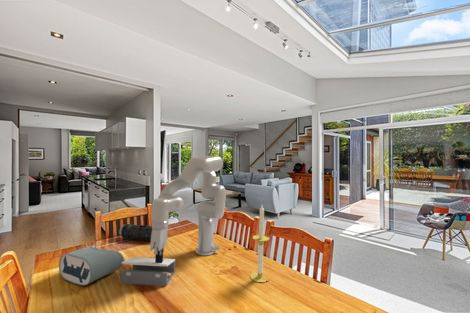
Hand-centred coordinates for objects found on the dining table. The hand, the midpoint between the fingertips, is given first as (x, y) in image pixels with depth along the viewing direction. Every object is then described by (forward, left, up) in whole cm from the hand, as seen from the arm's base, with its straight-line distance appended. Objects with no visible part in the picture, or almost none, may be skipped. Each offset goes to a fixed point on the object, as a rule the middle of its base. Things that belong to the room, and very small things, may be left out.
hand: (159, 262), depth 109 cm
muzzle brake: (+32, -47, -10) cm, 58 cm away
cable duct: (+6, -2, -9) cm, 11 cm away
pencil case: (+35, -2, -10) cm, 36 cm away
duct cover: (+6, -3, -2) cm, 7 cm away
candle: (-49, -8, -10) cm, 51 cm away
